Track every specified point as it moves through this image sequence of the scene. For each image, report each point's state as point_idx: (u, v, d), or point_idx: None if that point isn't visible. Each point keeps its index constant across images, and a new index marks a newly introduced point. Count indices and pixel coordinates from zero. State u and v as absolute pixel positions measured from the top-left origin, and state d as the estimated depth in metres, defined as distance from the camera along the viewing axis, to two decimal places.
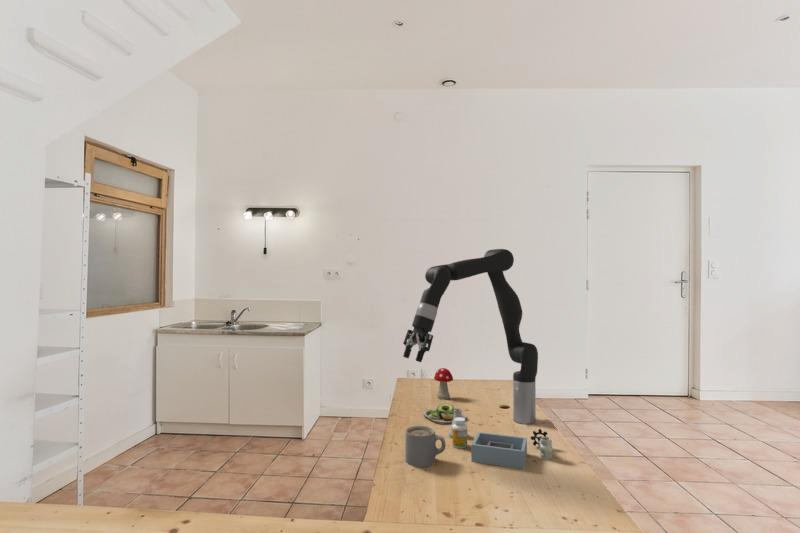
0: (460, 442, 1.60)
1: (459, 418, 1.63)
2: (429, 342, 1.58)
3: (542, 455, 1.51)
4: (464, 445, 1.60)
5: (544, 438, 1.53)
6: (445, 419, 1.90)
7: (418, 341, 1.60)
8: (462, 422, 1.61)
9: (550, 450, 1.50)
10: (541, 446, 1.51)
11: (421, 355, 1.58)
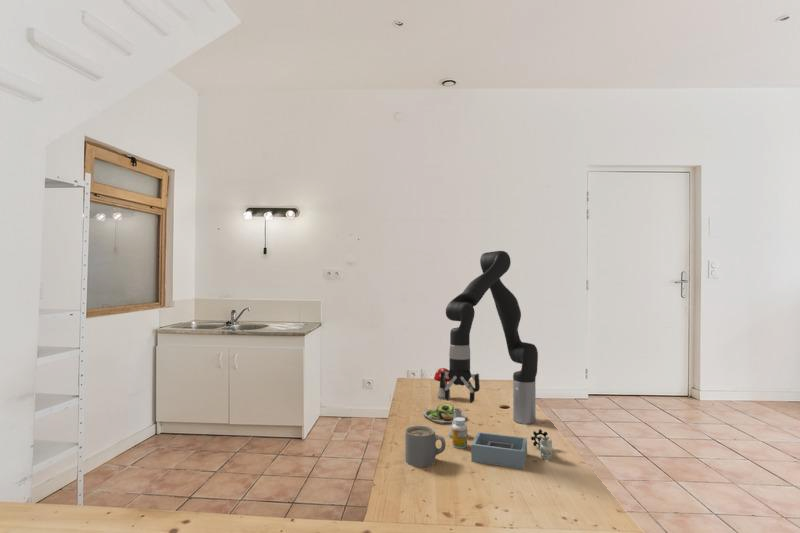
0: (460, 442, 1.60)
1: (459, 418, 1.63)
2: (478, 382, 1.61)
3: (542, 455, 1.50)
4: (464, 445, 1.60)
5: (544, 438, 1.53)
6: (445, 419, 1.90)
7: (467, 384, 1.60)
8: (462, 422, 1.61)
9: (550, 450, 1.50)
10: (541, 446, 1.51)
11: (474, 396, 1.61)
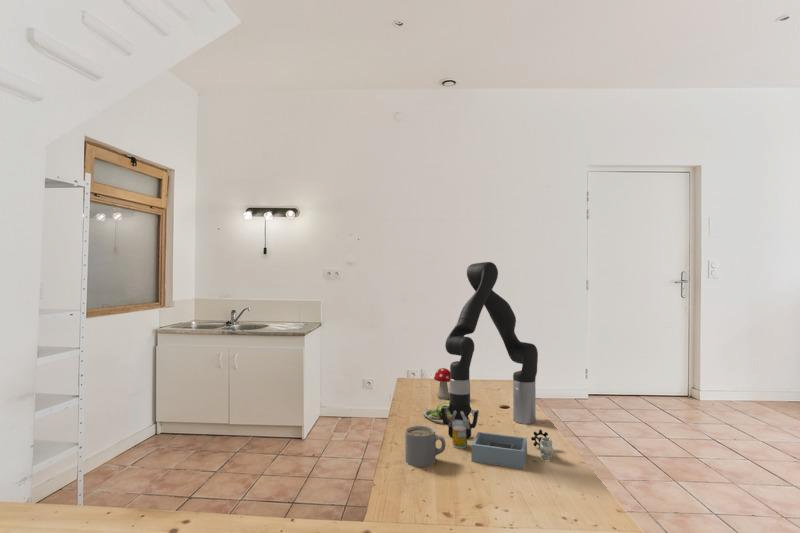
0: (460, 442, 1.60)
1: None
2: None
3: (542, 456, 1.50)
4: (464, 445, 1.60)
5: (544, 439, 1.52)
6: None
7: (465, 420, 1.60)
8: (462, 422, 1.61)
9: (550, 451, 1.49)
10: (541, 447, 1.50)
11: (470, 432, 1.61)
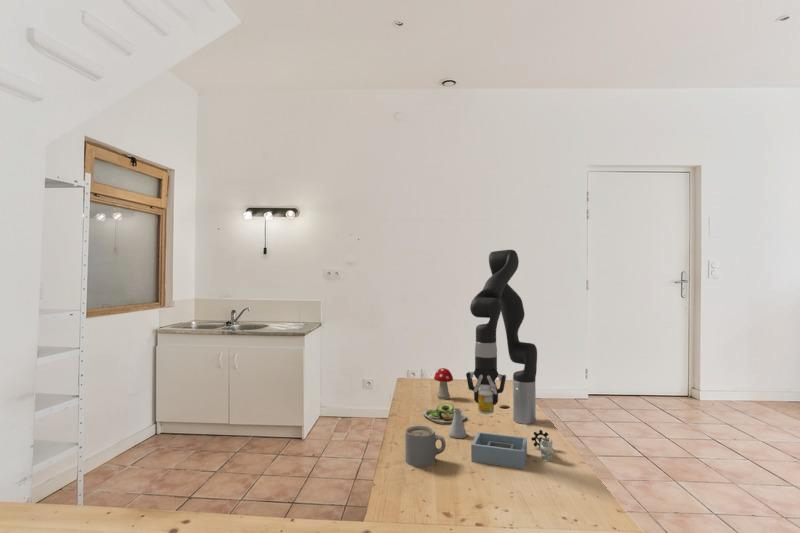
0: (487, 408, 1.53)
1: None
2: (504, 383, 1.54)
3: (543, 456, 1.50)
4: (491, 411, 1.53)
5: (545, 439, 1.52)
6: (445, 419, 1.90)
7: (492, 384, 1.53)
8: (488, 387, 1.54)
9: (551, 451, 1.49)
10: (542, 447, 1.50)
11: (497, 398, 1.54)
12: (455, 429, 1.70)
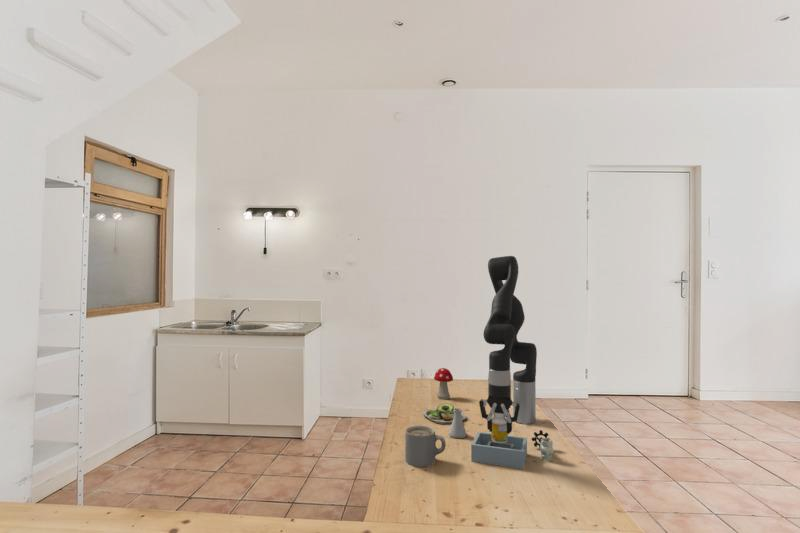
0: (501, 437, 1.49)
1: None
2: (518, 412, 1.51)
3: (543, 456, 1.50)
4: (505, 440, 1.50)
5: (545, 439, 1.52)
6: (445, 419, 1.90)
7: (506, 413, 1.50)
8: (502, 415, 1.50)
9: (551, 451, 1.49)
10: (542, 447, 1.50)
11: (511, 426, 1.51)
12: (455, 429, 1.70)
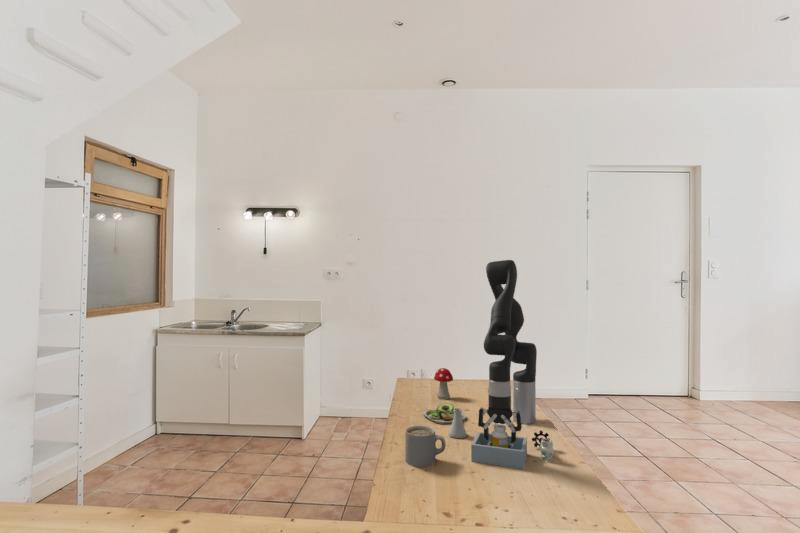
0: None
1: (499, 425, 1.53)
2: (520, 420, 1.50)
3: (543, 457, 1.49)
4: None
5: (545, 439, 1.52)
6: (445, 419, 1.90)
7: (508, 423, 1.50)
8: (503, 429, 1.50)
9: (551, 452, 1.48)
10: (542, 448, 1.50)
11: (515, 436, 1.50)
12: (455, 429, 1.70)
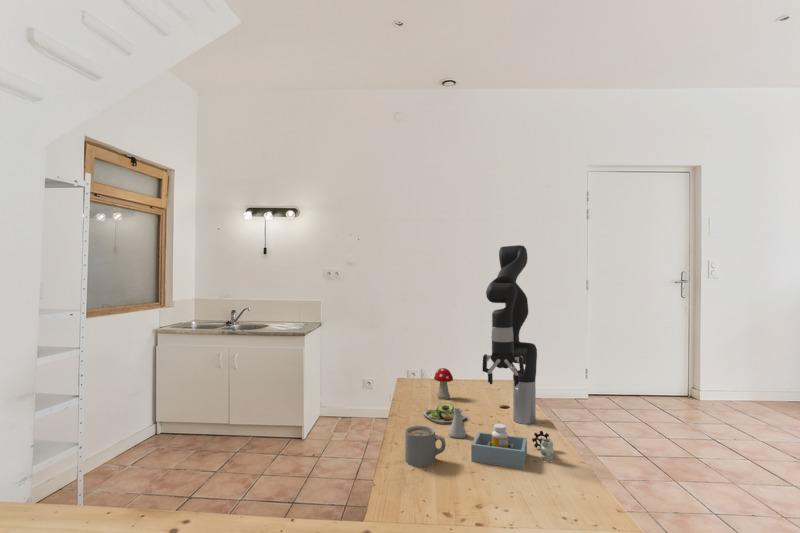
0: None
1: (499, 425, 1.53)
2: (523, 364, 1.57)
3: (543, 457, 1.49)
4: None
5: (545, 440, 1.51)
6: (445, 419, 1.90)
7: (511, 367, 1.56)
8: (503, 429, 1.50)
9: (551, 452, 1.48)
10: (542, 448, 1.49)
11: (518, 379, 1.57)
12: (455, 429, 1.70)
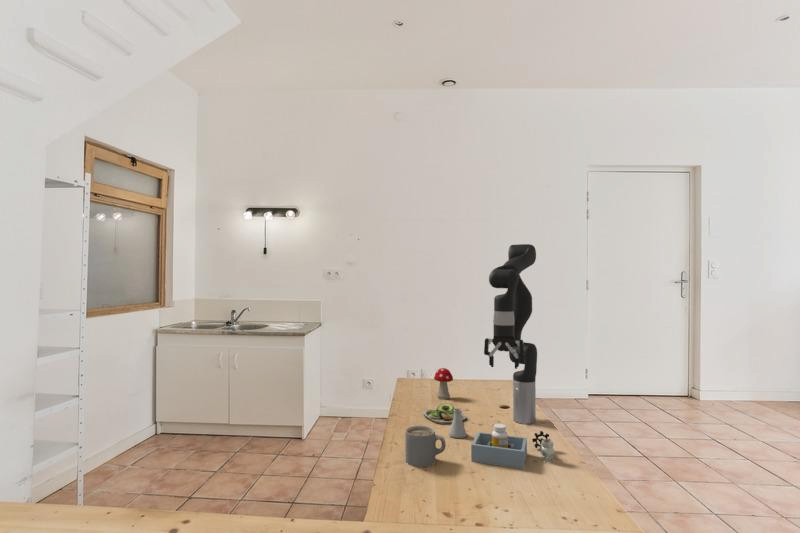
0: None
1: (499, 425, 1.53)
2: (523, 348, 1.62)
3: (543, 457, 1.49)
4: None
5: (545, 440, 1.51)
6: (445, 419, 1.90)
7: (512, 350, 1.62)
8: (503, 429, 1.50)
9: (551, 452, 1.48)
10: (542, 448, 1.49)
11: (518, 362, 1.62)
12: (455, 429, 1.70)
